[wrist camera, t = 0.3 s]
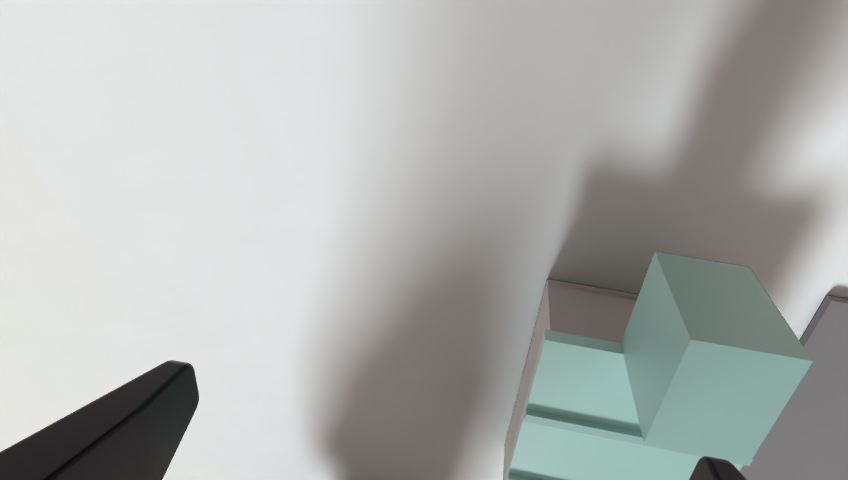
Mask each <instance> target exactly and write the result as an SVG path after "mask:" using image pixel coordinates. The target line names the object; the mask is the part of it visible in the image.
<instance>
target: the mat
mask: <svg viewBox="0 0 848 480" xmlns="http://www.w3.org/2000/svg"><path fill="white" fill-rule="evenodd" d="M800 343H801V344H802V345H803V347H804V348H805V350H806V351H807V353H808V354H809V356H810V357H811V359H812V360H813V362H812V364H811V365H810V367H809V369H808V370H807V372H806V373H805V375H804V377H803V378H802V380H801V381H800V383H799V385H798V386H797V388H796V389H795V391H794V393H793V394H792V396H791V397H790V399H789V401H788V402H787V404H786V405H785V407H784V409H783V410H782V412H781V413H780V415H779V417H778V418H777V420H776V421H775V423H774V425H773V426H772V428H771V429H770V431H769V433H768V434H767V436H766V437H765V439H764V441H763V442H762V444H761V445H760V447H759V449H758V450H757V452H756V453H755V455H754V457H753V459H754V460H753V461H752V463H751V464H750V466H745V465H743V466H742V468H741V469H740V472H741V474H742V475H743V476H744V477H745V478H746V479H747V480H848V299H847V298H841V297H835V296H829V295H826V297H825V299H824V300H823V302H822V304H821V306H820V307H819V309H818V311H817V312H816V314H815V316H814V317H813V319H812V321H811V322H810V324H809V326H808V327H807V329H806V331H805V333H804V334H803V336H802V338H801V339H800Z"/></svg>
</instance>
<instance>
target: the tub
mask: <svg viewBox="0 0 848 480" xmlns="http://www.w3.org/2000/svg"><path fill="white" fill-rule="evenodd" d="M637 298H638V294H632V293H627V292H621V291H615V290H609V289H603V288H597V287H592V286H586V285H580V284H574V283H568V282H562V281H557V280H551V279H547V282H546V286H545V290H544V294H543V298H542V301H541V305H540V309H539V313H538V317H537V321H536V325H535V329H534V333H533V336H532V340H531V344H530V348H529V352H528V356H527V360H526V364H525V367H524V371H523V375H522V379H521V383H520V387H519V391H518V395H517V399H516V402H515V406H514V410H513V414H512V418H511V422H510V426H509V430H508V433H507V437H506V441H505V448H504V471H503V480H504V478H505V474H506V470H507V466H508V463H509V459H510V455H511V452H512V448H513V444H514V441H515V437H516V433H517V429H518V426H519V422H520V418H521V415H522V411H523V407H524V404H525V400H526V396H527V392H528V389H529V385H530V381H531V378H532V374H533V370H534V367H535V363H536V359H537V355H538V352H539V348H540V344H541V341H542V337H543V333H544V330H550V331H555V332H561V333H566V334H572V335H577V336H583V337H588V338H594V339H599V340H605V341H610V342H616V343H621V341H622V338H623V336H624V333H625V330H626V328H627V325H628V322H629V319H630V317H631V314H632V311H633V309H634V306H635V303H636V301H637Z"/></svg>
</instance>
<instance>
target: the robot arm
mask: <svg viewBox="0 0 848 480" xmlns="http://www.w3.org/2000/svg"><path fill="white" fill-rule="evenodd" d="M198 401H199V393H198V388H197V382H196V377H195V372H194V368H193V366H192V365H191V364H189V363H185V362H180V361H174V360H171V361H167V362H165V363H163V364H161V365H159V366H157V367H155V368H154V369H152V370H150V371H148V372H146V373H144V374H143V375H141V376H139V377H137V378H135V379H133V380H132V381H130V382H128V383H126V384H124V385H122V386H121V387H119V388H117V389H115V390H113V391H111V392H110V393H108V394H106V395H104V396H102V397H100V398H99V399H97V400H95V401H93V402H91V403H89V404H88V405H86V406H84V407H82V408H80V409H78V410H77V411H75V412H73V413H71V414H69V415H67V416H66V417H64V418H62V419H60V420H58V421H56V422H55V423H53V424H51V425H49V426H47V427H45V428H44V429H42V430H40V431H38V432H36V433H34V434H33V435H31V436H29V437H27V438H25V439H23V440H22V441H20V442H18V443H16V444H14V445H12V446H11V447H9V448H7V449H5V450H3V451H2V452H0V480H162V479H163V477H164V475H165V473H166V471H167V469H168V467H169V465H170V462H171V460H172V458H173V456H174V454H175V452H176V450H177V448H178V446H179V444H180V442H181V439H182V437H183V435H184V433H185V431H186V429H187V427H188V425H189V423H190V421H191V419H192V417H193V414H194V412H195V410H196V408H197V405H198ZM689 480H747V479H746V478H745V477H744V476H743V475H742V474H741V472H740V471H739V470H738V469H737V468H736V467H735V466H734V465H733V464H732V463H731V462H729V461H727V460H724V459H719V458H714V457H708V456H703V457H701V458H700V459H699V461H698V462H697V464H696V466H695V468H694V470H693V472H692V474H691V476H690V478H689Z"/></svg>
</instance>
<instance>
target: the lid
mask: <svg viewBox="0 0 848 480" xmlns="http://www.w3.org/2000/svg"><path fill="white" fill-rule="evenodd" d="M812 362H813V360H812V359H811V357H810V356H809V354H808V353H807V351H806V350H805V348H804V347H803V345H802V344H801V343H800V341H799V340H798V338H797V337H796V335H795V334H794V332H793V331H792V329H791V328H790V326H789V325H788V323H787V322H786V320H785V319H784V318H783V316H782V315H781V313H780V312H779V310H778V309H777V307H776V306H775V304H774V303H773V301H772V300H771V298H770V297H769V295H768V294H767V293H766V291H765V290H764V288H763V287H762V285H761V284H760V282H759V281H758V279H757V278H756V276H755V275H754V273H753V272H752V270H751V269H750V268H749V267H747V266H741V265H734V264H728V263H722V262H716V261H710V260H704V259H698V258H692V257H685V256H679V255H673V254H667V253H661V252H654V255H653V257H652V260H651V263H650V265H649V268H648V271H647V274H646V276H645V279H644V282H643V284H642V287H641V290H640V292H639V295H638V298H637V301H636V303H635V306H634V309H633V311H632V314H631V317H630V319H629V322H628V325H627V328H626V330H625V333H624V336H623V338H622V341H621V343H616V342H610V341H605V340H599V339H594V338H588V337H583V336H577V335H572V334H566V333H561V332H555V331H550V330H544V333H543V337H542V341H541V344H540V348H539V352H538V355H537V359H536V363H535V367H534V370H533V374H532V378H531V381H530V385H529V389H528V392H527V396H526V400H525V404H524V407H523V411H522V415H521V418H520V422H519V426H518V429H517V433H516V437H515V441H514V444H513V448H512V452H511V455H510V459H509V463H508V466H507V470H506V474H505V478H504V480H689V478H690V476H691V474H692V472H693V470H694V468H695V466H696V464H697V462H698V461H699V459H700V458H701V457H703V456H708V457H714V458H719V459H724V460H727V461H729V462H731V463H732V464H733V465H734V466H735V467H736V468H737V469H738V470H739V471H740V469H741V468H742V466H743V465H745V466H750V464H751V463H752V461H753V460H754V459H753V457H754V455H755V453H756V452H757V450H758V449H759V447H760V445H761V444H762V442H763V441H764V439H765V437H766V436H767V434H768V433H769V431H770V429H771V428H772V426H773V425H774V423H775V421H776V420H777V418H778V417H779V415H780V413H781V412H782V410H783V409H784V407H785V405H786V404H787V402H788V401H789V399H790V397H791V396H792V394H793V393H794V391H795V389H796V388H797V386H798V385H799V383H800V381H801V380H802V378H803V377H804V375H805V373H806V372H807V370H808V369H809V367H810V365H811V364H812Z"/></svg>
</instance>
